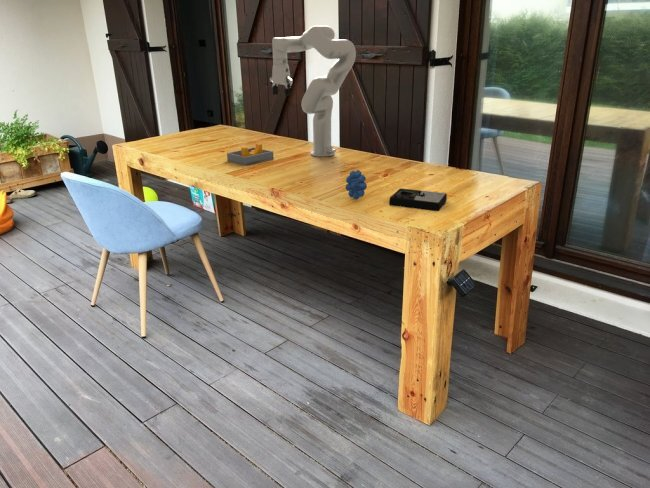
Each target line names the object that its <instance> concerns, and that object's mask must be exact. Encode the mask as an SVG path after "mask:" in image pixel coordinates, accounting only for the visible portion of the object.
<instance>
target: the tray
mask: <svg viewBox="0 0 650 488" xmlns="http://www.w3.org/2000/svg"><path fill="white" fill-rule="evenodd" d="M255 147H256V146H255ZM255 147H250V148H248V151H249V152H251V150H255ZM226 160H227V162H230V163H235V164H239V165H242V166H250V165H254V164H258V163H262V162H267V161H271V160H274V151H273V150H269V149H265V148H262V153H261V154H257V155H252V156H248V157H244V156H242V153H241V149H240V150H239V149H238V150H235V151H230V152H227V153H226Z"/></svg>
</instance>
